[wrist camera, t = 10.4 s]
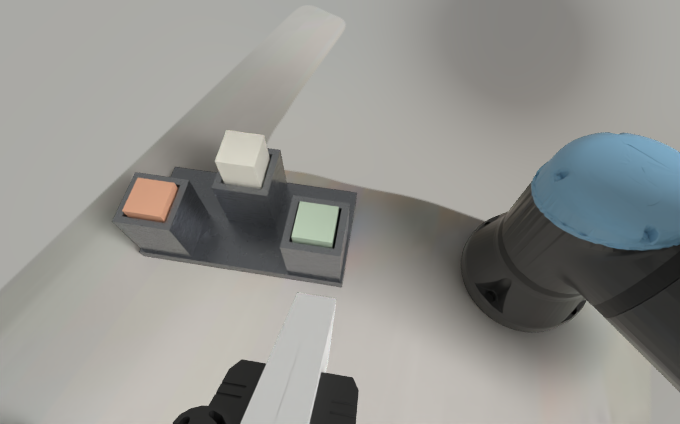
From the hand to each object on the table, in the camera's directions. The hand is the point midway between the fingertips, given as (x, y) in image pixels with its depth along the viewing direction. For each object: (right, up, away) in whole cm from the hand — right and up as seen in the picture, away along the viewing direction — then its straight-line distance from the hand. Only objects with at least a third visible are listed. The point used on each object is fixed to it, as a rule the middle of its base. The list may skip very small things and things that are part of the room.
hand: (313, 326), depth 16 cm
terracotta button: (-20, +2, +37) cm, 43 cm away
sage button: (-2, -1, +36) cm, 36 cm away
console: (-11, +3, +40) cm, 41 cm away
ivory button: (-10, +7, +37) cm, 39 cm away
